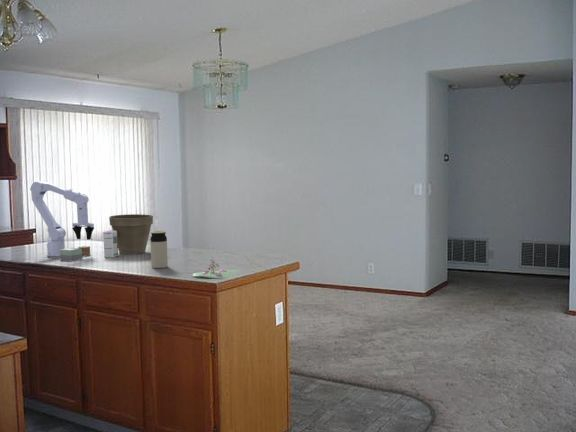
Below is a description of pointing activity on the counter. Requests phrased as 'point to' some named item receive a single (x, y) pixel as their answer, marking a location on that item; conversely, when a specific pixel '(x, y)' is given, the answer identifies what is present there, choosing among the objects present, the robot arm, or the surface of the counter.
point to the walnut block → (85, 250)
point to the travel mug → (159, 249)
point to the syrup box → (110, 243)
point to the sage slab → (71, 251)
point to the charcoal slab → (71, 257)
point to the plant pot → (131, 232)
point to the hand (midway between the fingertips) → (83, 239)
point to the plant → (215, 272)
